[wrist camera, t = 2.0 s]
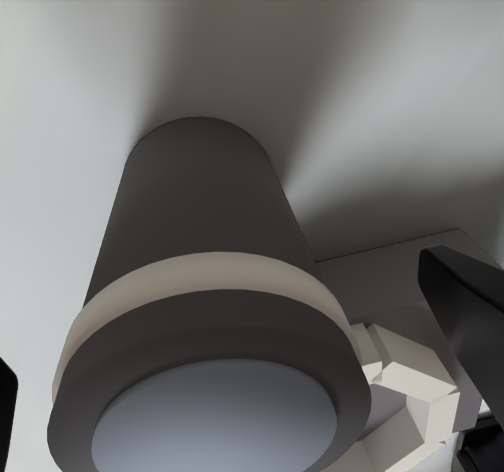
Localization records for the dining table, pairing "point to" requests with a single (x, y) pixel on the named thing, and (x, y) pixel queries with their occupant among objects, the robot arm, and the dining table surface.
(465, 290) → the robot arm
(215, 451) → the lens
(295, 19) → the dining table surface
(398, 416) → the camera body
